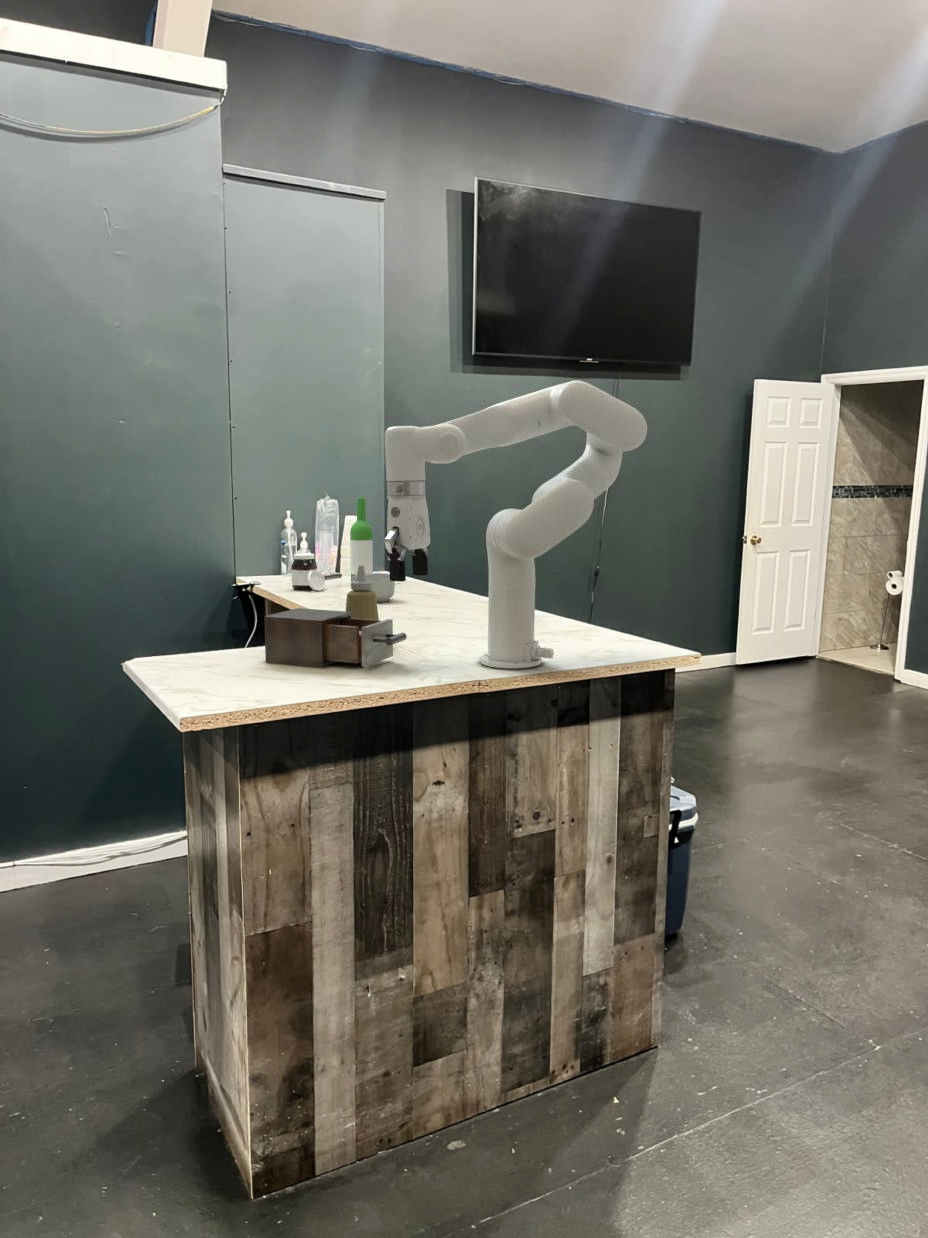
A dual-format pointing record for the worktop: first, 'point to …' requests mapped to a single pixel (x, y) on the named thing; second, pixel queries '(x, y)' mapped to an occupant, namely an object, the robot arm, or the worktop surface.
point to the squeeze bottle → (362, 598)
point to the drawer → (345, 640)
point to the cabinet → (299, 636)
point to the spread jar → (306, 573)
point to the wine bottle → (361, 542)
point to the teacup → (380, 585)
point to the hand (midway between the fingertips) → (409, 578)
